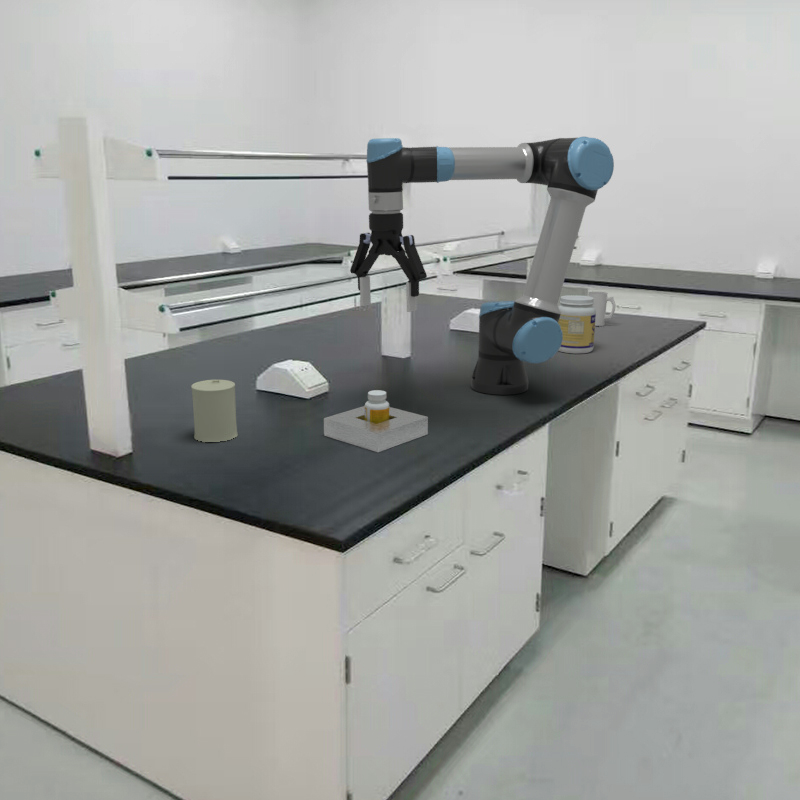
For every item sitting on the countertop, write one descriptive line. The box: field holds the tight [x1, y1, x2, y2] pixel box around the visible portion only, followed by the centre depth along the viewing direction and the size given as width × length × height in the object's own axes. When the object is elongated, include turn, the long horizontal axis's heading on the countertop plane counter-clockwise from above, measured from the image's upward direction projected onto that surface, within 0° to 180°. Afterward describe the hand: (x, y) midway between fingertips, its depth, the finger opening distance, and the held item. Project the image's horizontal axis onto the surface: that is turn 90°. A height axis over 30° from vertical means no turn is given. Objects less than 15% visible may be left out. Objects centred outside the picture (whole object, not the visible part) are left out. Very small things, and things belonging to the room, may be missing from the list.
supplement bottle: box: [364, 389, 390, 424], centre depth 181 cm, size 5×5×10 cm
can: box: [190, 379, 239, 443], centre depth 179 cm, size 9×9×12 cm
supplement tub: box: [557, 294, 596, 355], centre depth 263 cm, size 12×12×17 cm
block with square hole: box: [323, 405, 429, 453], centre depth 181 cm, size 16×16×4 cm
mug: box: [587, 290, 616, 326], centre depth 304 cm, size 10×7×12 cm, turn 63°
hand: (388, 308), depth 188 cm, fingers open, 13 cm apart
